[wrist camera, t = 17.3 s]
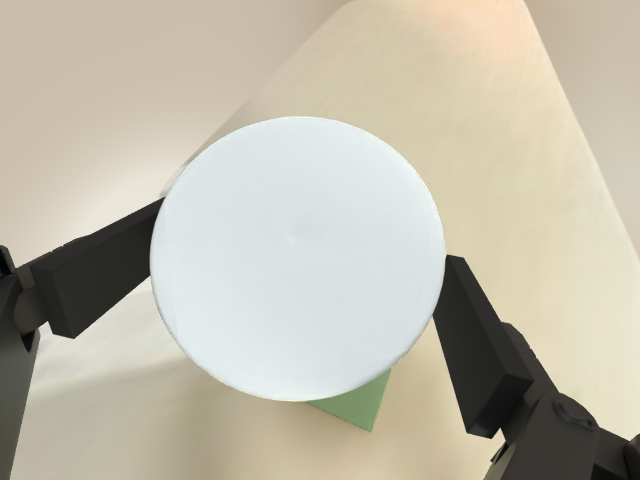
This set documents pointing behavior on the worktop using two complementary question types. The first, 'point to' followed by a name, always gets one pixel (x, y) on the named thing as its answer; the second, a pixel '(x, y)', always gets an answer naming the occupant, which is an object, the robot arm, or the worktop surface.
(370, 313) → the supplement tub
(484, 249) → the worktop surface
